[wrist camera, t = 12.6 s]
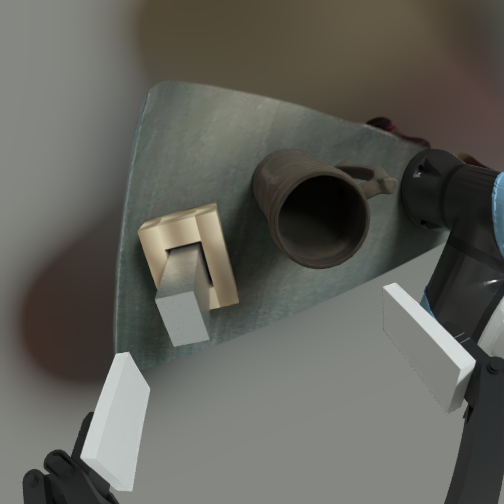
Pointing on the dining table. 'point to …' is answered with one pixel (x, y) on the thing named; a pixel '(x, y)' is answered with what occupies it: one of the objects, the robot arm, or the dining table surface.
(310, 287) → the dining table surface
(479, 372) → the robot arm
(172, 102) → the dining table surface
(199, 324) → the tall grey pillar
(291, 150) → the beer stein
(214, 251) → the well block
